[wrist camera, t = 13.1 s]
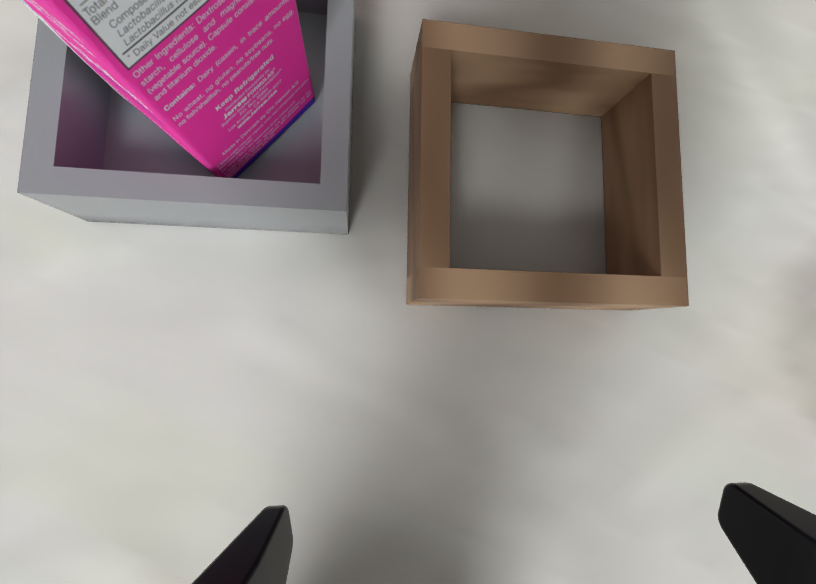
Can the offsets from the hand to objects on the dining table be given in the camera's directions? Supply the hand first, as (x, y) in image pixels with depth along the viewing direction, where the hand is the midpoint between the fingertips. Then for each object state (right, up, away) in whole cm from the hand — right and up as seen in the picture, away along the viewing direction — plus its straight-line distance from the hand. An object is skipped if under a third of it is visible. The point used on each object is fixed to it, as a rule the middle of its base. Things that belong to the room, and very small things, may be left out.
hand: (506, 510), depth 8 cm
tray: (-10, +13, +10) cm, 19 cm away
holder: (+4, +9, +11) cm, 15 cm away
